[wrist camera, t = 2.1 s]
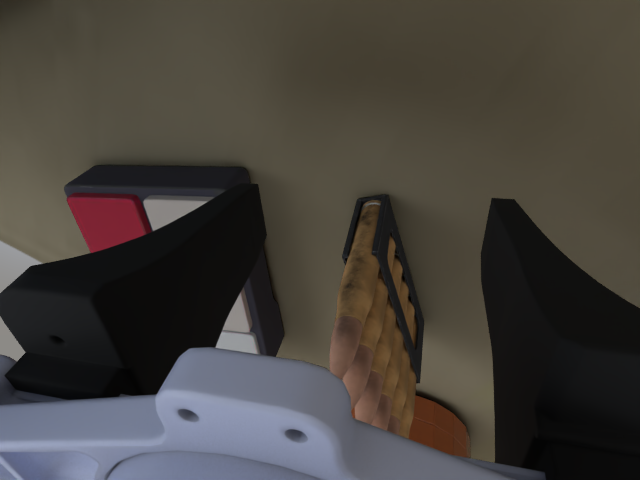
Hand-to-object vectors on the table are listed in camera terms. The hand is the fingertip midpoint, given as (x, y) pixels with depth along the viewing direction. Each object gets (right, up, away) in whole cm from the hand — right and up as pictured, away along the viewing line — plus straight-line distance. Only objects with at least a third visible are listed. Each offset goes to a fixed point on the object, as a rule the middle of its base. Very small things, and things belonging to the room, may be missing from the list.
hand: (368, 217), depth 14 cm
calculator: (-10, -2, +18) cm, 21 cm away
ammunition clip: (+3, -2, +15) cm, 15 cm away
